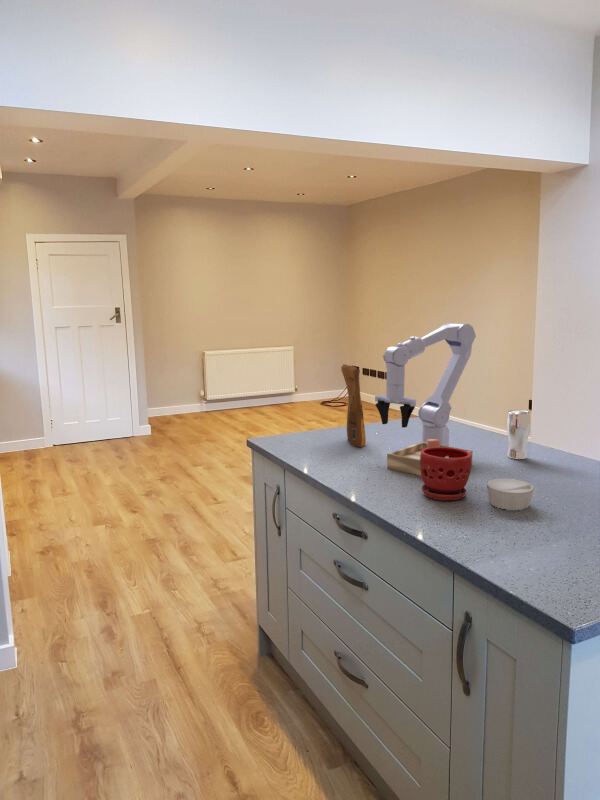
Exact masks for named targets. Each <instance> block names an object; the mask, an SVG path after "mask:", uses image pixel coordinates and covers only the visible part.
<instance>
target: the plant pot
mask: <svg viewBox="0 0 600 800" xmlns="http://www.w3.org/2000/svg"><path fill="white" fill-rule="evenodd" d="M455 448H456V447H454V448H447V447H433V448H426V449H423V450H422V451H421V454H420V470H421V476H420V477H421V479H422V482H423V485H422V486H421V491H422V493H423V494H424V495H425V496H426V497H428V498H431V499H434V500H436V501H456V500H459V499H462V498H463V497H464V496H466V494H467V489H466V488H465V486H466V485H467V483H468V481H469V478H470V475H471V474H470V473H471V468H472V465H471V460H472V461H473V454H472V455H471V453H469V452H467V451H464V450H461V449H462V448H459V449H455ZM446 456H449V458H445V457H446ZM428 465H429V468H428Z"/></svg>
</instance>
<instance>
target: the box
mask: <svg viewBox="0 0 600 800" xmlns="http://www.w3.org/2000/svg"><path fill="white" fill-rule="evenodd" d="M440 447H447V448H455V449H461V450H464V451H467V452H469V453H471V455H472V456H473V450H470V449H465V448H459V447H455V446H454V447H453V446H449V447H448V446H442V445H440ZM426 448H427V443H425V442H422V441H421V442H417V443H415V444H412V445H409V446H407V447H406V446H405V447H404V448H401V449H397V450H395V451H392V452H390V453H387V454H386V469H388V470H394V471H398V472H402V473H407V474H412V475H415V474H416V476H420V477H422V476H421V470H420V454H421V451H422V450H423V449H426ZM445 458H449V456H446V457H445ZM472 465H473V459H472V460H471V466H472ZM428 468H429V465H428Z"/></svg>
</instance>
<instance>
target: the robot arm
mask: <svg viewBox="0 0 600 800" xmlns="http://www.w3.org/2000/svg"><path fill="white" fill-rule="evenodd" d="M476 337H477V335H476V333H475V330H474V327H473V326H472V325H471V324H469V323H454V322H448V323H446V324H442V325H441V326H440V327H438V328H437V329H435V330H433V331H431V332H429V333H428V334H426V335H424V336H422V337H419V336H410V337H409V339H408V340H406V341H403V342H399V343H397V346H389V347H387V348H386V350H385V352H384V354H383V355H382V358H383V361H384V362H385V368H386V389H385V390H386V391H385V392H386V395H384V394H383V395H382V394H378V395H377V394H376V395H375V396H374V402H376V403H375V407H376V408H377V411H378V413H379V415H380V420H381V424H382V425H387V424H388V422H389V410H390V406H391V404H396V405H400V406H399V409H400V413H401V428H407V427H408V424H409V422H410V418H411V416H412V413H413V412H414V410H415V408H416V406H417V400H416V399H413V398H410V397H409V398H408V397H405V378H406V377H405V376H406V375H405V372H406V368H405V367H406V365H407V363H408V361H410V360H412V359H413V358H415V357H417V356H419V355H421V354H423V353H424V352H425V349H426V348H427V347H430V346H433V345H435V344H437V343H439V342H442V341H443V340H444V341H445V342H446V344H447V345H448V346H449V348H450V350H451V353H452V354H451V357H450V359H449V361H448V363H447V366H446V367H445V370H444V371H443V373H442V376H441V378H440V380H439V382H438V384H437V386H436V389H435V391H434V392H433V394H432V395H431V396H429V397H427V398H426V400H425V402H423V404H422V405H421V406H420V407H419V408H418V412H417V415H418V418H419V420H420V421H421V424H422V425H421V427H422V430H421V431H422V432H421V433H422V435H421V436H422V437H421V438H422V439H421V442H425V443H427V439H438V440H440V445H442V446H448V447H450V446H449V445H450V441H449V440H450V429H449V428H448V426H447V424H448V422H449V419H450V414H451V411H452V406H451V404H450V400H451V398H452V395H453V393H454V391H455V389H456V386H457V384H458V382H459V380H460V378H461V376H462V374H463V372H464V370H465V368H466V366H467V364H468V361H469V359H470V358H471V354H472V349H473V343H474V341H475V339H476Z"/></svg>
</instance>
